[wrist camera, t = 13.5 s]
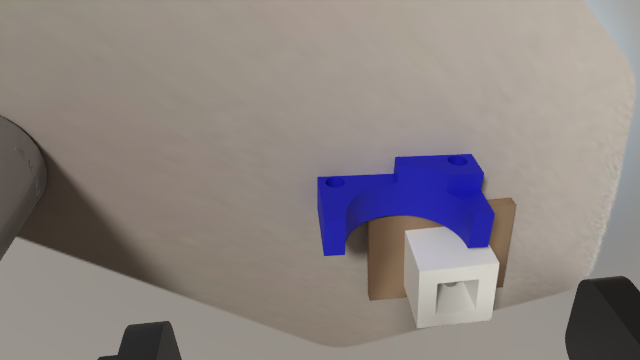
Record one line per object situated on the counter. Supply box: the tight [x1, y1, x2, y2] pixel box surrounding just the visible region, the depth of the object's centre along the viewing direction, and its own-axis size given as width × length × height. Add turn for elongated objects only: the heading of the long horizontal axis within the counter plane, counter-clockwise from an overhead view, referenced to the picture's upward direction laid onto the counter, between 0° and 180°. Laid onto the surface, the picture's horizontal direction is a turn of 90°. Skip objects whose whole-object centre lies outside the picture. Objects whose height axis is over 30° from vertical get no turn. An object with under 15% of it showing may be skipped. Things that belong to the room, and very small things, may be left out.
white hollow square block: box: [404, 227, 500, 328], centre depth 44 cm, size 6×6×5 cm
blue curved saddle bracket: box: [318, 154, 495, 256], centre depth 40 cm, size 12×4×6 cm, turn 90°
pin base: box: [367, 198, 516, 301], centre depth 45 cm, size 12×9×5 cm
